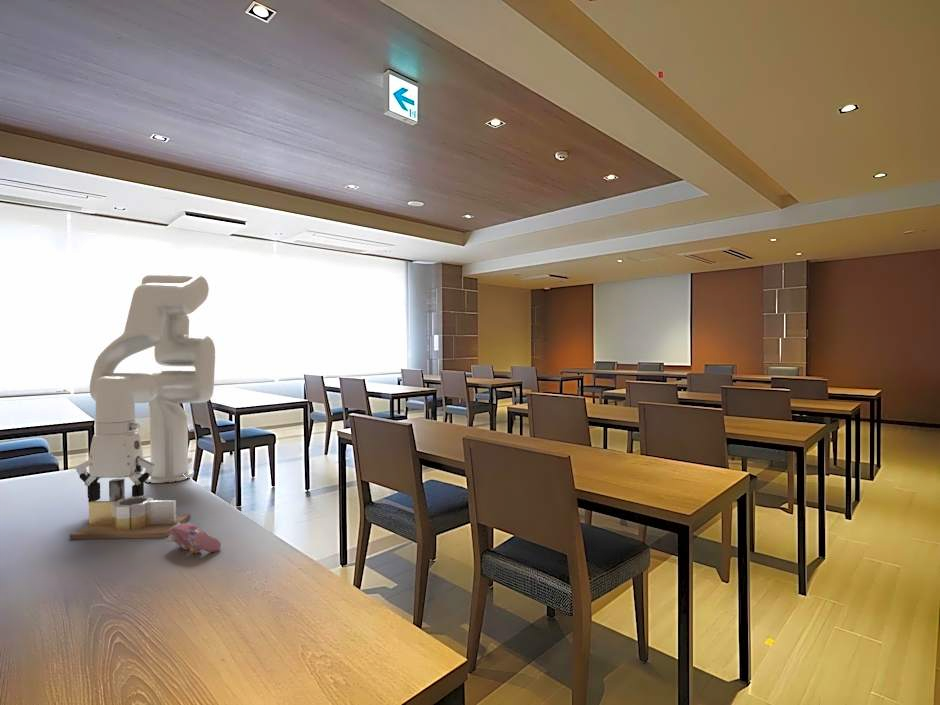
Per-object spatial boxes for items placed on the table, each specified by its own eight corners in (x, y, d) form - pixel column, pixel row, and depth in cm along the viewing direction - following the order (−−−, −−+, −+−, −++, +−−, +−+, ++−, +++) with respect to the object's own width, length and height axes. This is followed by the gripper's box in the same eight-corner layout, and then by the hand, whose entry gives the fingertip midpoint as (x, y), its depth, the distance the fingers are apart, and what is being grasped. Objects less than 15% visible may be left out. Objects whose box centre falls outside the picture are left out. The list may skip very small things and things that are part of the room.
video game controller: (174, 554, 102) (158, 529, 99) (193, 537, 106) (178, 512, 103) (206, 565, 97) (190, 539, 94) (224, 546, 101) (210, 521, 98)
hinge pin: (114, 511, 121) (114, 478, 121) (127, 511, 121) (127, 478, 121) (106, 516, 118) (106, 482, 118) (120, 515, 118) (119, 482, 118)
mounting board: (104, 519, 116) (104, 515, 116) (190, 518, 117) (190, 514, 117) (69, 539, 105) (69, 534, 105) (165, 537, 106) (165, 532, 106)
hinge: (101, 518, 114) (101, 496, 114) (183, 517, 115) (182, 495, 115) (79, 531, 107) (78, 507, 107) (166, 529, 108) (166, 506, 108)
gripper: (162, 425, 123) (162, 495, 124) (87, 426, 122) (88, 496, 122) (144, 431, 116) (145, 505, 116) (65, 431, 115) (65, 506, 115)
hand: (116, 500), depth 119 cm, fingers open, 9 cm apart
